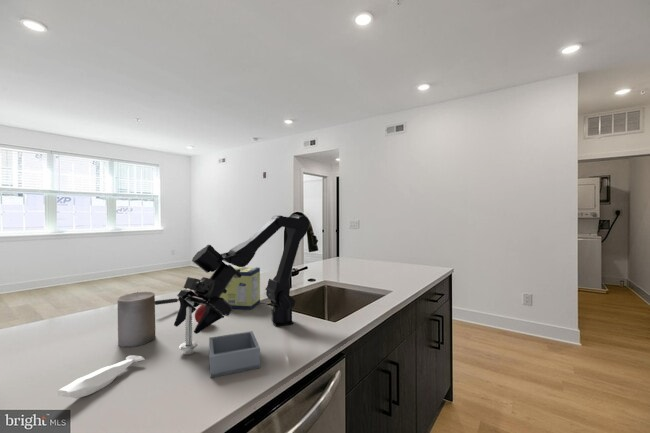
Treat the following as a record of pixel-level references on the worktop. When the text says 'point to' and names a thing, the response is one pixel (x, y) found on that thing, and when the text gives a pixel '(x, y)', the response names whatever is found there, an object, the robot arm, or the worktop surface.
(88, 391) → the white fish figurine
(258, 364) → the tote
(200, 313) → the pomegranate
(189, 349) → the screw
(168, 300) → the frying pan
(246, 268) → the protein box
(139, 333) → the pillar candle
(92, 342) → the worktop surface
